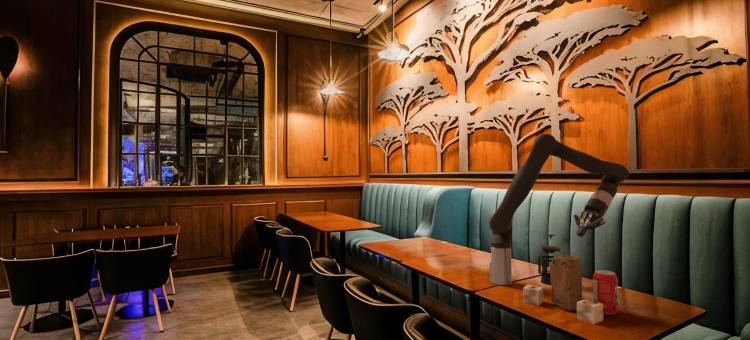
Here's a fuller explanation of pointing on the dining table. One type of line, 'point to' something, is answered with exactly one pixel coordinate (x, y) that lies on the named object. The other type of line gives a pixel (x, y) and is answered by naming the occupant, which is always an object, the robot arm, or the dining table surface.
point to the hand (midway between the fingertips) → (579, 235)
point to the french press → (546, 249)
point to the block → (566, 281)
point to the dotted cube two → (590, 311)
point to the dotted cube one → (533, 295)
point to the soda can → (606, 290)
